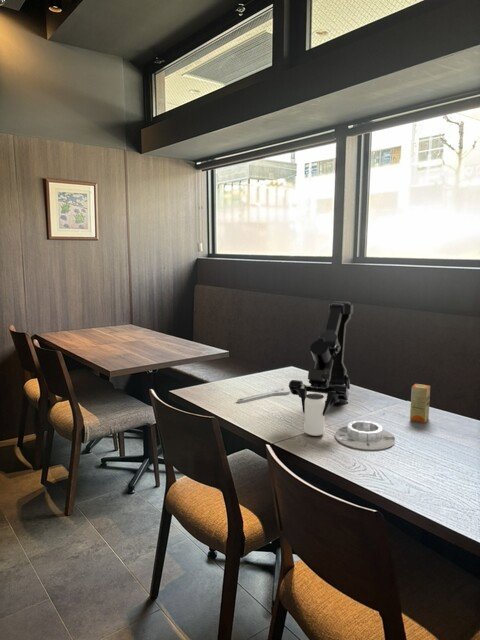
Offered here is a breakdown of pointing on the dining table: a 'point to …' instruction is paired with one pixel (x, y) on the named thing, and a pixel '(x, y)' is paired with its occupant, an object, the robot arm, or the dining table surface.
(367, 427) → the rosette
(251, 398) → the adjustable wrench
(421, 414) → the shoe polish box
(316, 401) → the can
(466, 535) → the dining table surface
